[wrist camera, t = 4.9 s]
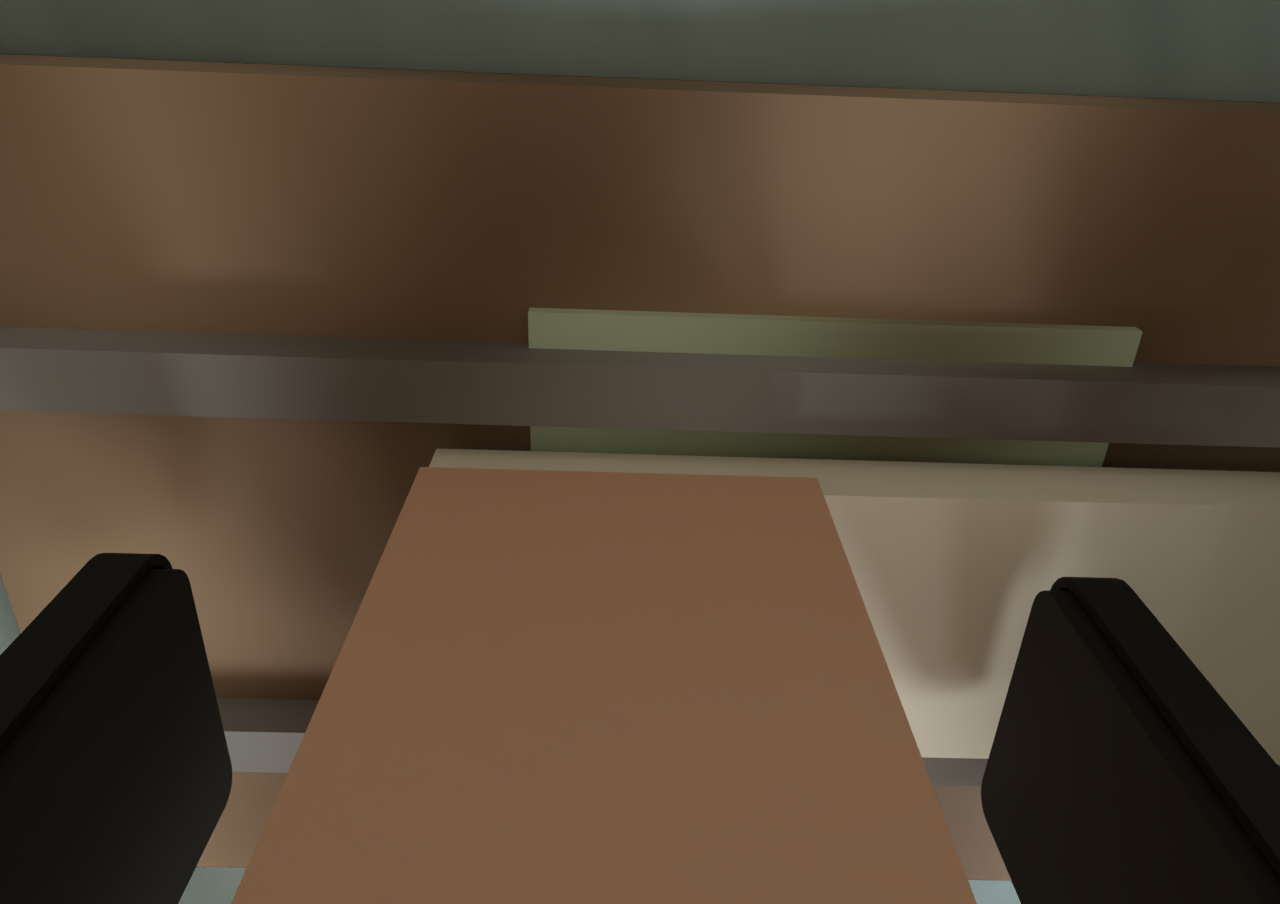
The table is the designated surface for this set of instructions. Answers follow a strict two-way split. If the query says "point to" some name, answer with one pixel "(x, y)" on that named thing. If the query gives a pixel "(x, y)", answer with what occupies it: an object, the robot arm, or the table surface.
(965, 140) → the rail board
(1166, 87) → the table surface
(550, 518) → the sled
